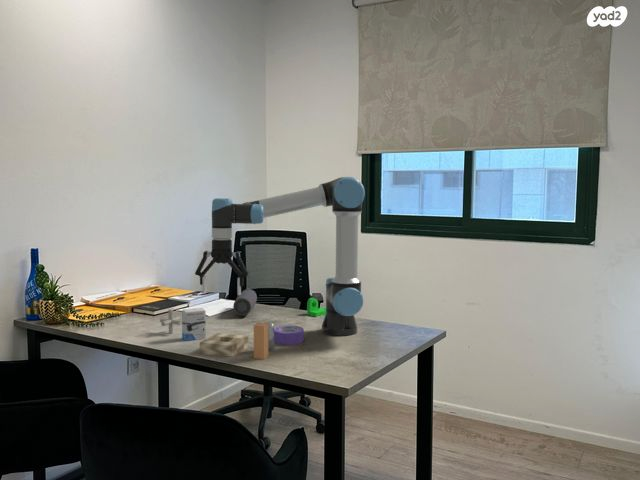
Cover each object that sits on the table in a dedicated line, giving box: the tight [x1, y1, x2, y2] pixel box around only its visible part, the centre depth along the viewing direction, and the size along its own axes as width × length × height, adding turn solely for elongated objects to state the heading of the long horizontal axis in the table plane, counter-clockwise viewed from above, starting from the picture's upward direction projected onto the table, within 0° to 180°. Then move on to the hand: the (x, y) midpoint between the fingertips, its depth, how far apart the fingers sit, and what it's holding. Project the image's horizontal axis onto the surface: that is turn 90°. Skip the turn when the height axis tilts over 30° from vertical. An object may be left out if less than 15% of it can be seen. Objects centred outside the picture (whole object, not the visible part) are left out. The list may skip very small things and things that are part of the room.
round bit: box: [264, 321, 275, 352], centre depth 217 cm, size 4×4×10 cm
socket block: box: [199, 332, 249, 357], centre depth 216 cm, size 13×14×4 cm
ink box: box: [181, 307, 207, 342], centre depth 231 cm, size 8×5×12 cm, turn 117°
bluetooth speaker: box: [232, 288, 258, 316], centre depth 277 cm, size 23×9×10 cm, turn 179°
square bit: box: [253, 322, 269, 360], centre depth 207 cm, size 4×4×12 cm
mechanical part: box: [306, 297, 326, 318], centre depth 276 cm, size 12×6×8 cm, turn 136°
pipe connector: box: [159, 308, 182, 335], centre depth 238 cm, size 10×10×10 cm
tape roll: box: [274, 324, 305, 346], centre depth 229 cm, size 12×12×5 cm
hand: (221, 294), depth 222 cm, fingers open, 13 cm apart
